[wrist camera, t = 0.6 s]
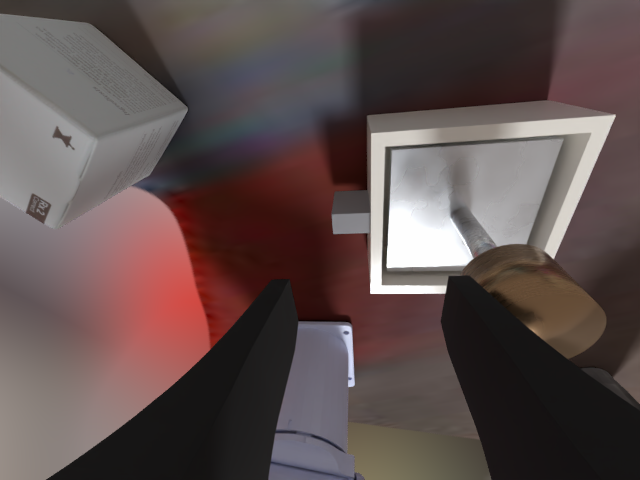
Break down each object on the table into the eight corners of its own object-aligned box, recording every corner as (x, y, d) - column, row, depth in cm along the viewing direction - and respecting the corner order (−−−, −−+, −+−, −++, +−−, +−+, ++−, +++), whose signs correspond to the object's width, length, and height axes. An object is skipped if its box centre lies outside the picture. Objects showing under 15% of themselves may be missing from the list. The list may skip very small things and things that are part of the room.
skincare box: (91, 20, 15) (-98, -8, 8) (192, 109, 17) (97, 139, 10) (60, 111, 17) (-100, 140, 11) (150, 178, 19) (55, 235, 13)
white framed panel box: (502, 247, 19) (538, 293, 16) (340, 251, 21) (337, 293, 17) (547, 100, 14) (616, 114, 11) (331, 118, 16) (324, 136, 12)
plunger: (512, 263, 16) (620, 405, 10) (385, 265, 17) (406, 394, 11) (555, 135, 13) (783, 223, 6) (390, 146, 14) (426, 233, 7)
